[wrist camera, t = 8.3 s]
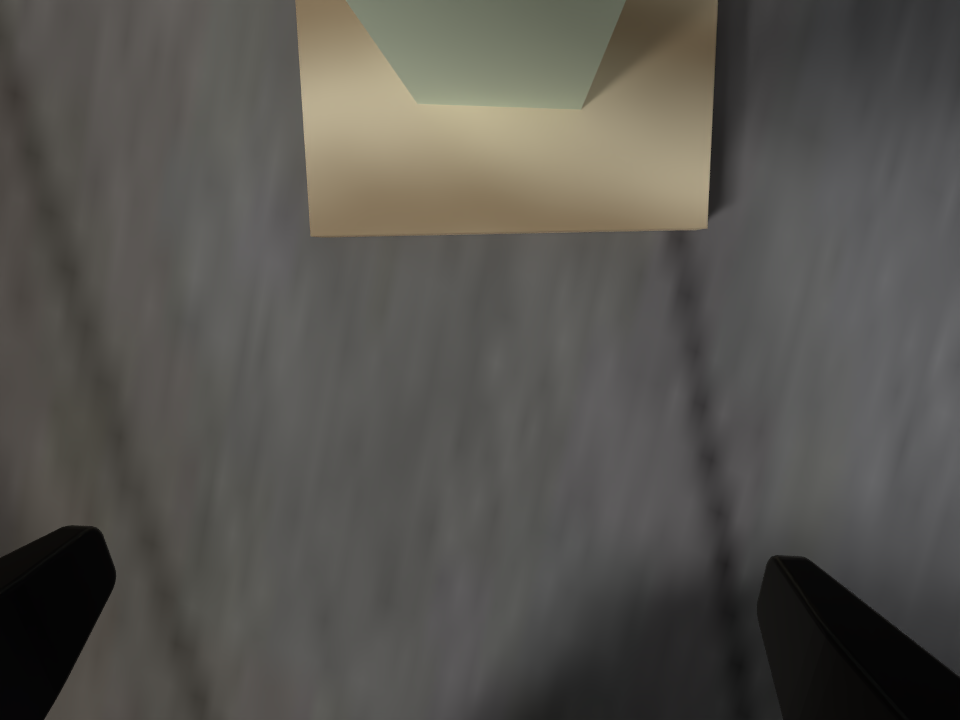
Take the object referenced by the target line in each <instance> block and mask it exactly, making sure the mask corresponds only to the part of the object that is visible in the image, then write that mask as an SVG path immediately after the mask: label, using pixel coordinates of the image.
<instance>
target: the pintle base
mask: <svg viewBox="0 0 960 720" xmlns="http://www.w3.org/2000/svg"><path fill="white" fill-rule="evenodd" d="M717 9H718V0H626V2H625V4H624V7H623V9H622V11H621V14H620V16H619V19H618V21H617V24H616V26H615V28H614V31H613V33H612V36H611V38H610V41H609V43H608V45H607V48H606V50H605V53H604V55H603V58H602V60H601V62H600V65H599V67H598V70H597V72H596V75H595V77H594V80H593V82H592V84H591V87H590V89H589V92H588V94H587V97H586V99H585V101H584V104H583V106H582V109H581V110H579V109H550V108H522V107H493V106H465V105H436V104H417V102H416V101H415V100H414V98H413V97H412V95H411V94H410V92H409V91H408V90H407V88H406V87H405V85H404V84H403V82H402V81H401V79H400V78H399V77H398V75H397V74H396V72H395V71H394V69H393V68H392V66H391V65H390V64H389V62H388V61H387V59H386V58H385V56H384V55H383V54H382V52H381V51H380V49H379V48H378V46H377V45H376V43H375V42H374V41H373V39H372V38H371V36H370V35H369V33H368V32H367V30H366V29H365V28H364V26H363V25H362V23H361V22H360V20H359V19H358V18H357V16H356V15H355V13H354V12H353V10H352V9H351V7H350V6H349V5H348V3H347V2H346V0H296V15H297V31H298V46H299V62H300V77H301V93H302V108H303V124H304V139H305V155H306V170H307V186H308V201H309V217H310V232H311V236H313V237H366V236H416V235H467V234H517V233H567V232H617V231H668V230H699V229H706V228H707V222H708V201H709V180H710V158H711V137H712V116H713V94H714V73H715V52H716V31H717Z"/></svg>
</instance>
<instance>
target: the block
mask: <svg viewBox="0 0 960 720" xmlns="http://www.w3.org/2000/svg"><path fill="white" fill-rule="evenodd" d="M346 2H347V3H348V5H349V6H350V7H351V9H352V10H353V12H354V13H355V15H356V16H357V18H358V19H359V20H360V22H361V23H362V25H363V26H364V28H365V29H366V30H367V32H368V33H369V35H370V36H371V38H372V39H373V41H374V42H375V43H376V45H377V46H378V48H379V49H380V51H381V52H382V54H383V55H384V56H385V58H386V59H387V61H388V62H389V64H390V65H391V66H392V68H393V69H394V71H395V72H396V74H397V75H398V77H399V78H400V79H401V81H402V82H403V84H404V85H405V87H406V88H407V90H408V91H409V92H410V94H411V95H412V97H413V98H414V100H415V101H416V102H417V104H436V105H465V106H493V107H522V108H550V109H579V110H581V109H582V106H583V104H584V101H585V99H586V97H587V94H588V92H589V89H590V87H591V84H592V82H593V80H594V77H595V75H596V72H597V70H598V67H599V65H600V62H601V60H602V58H603V55H604V53H605V50H606V48H607V45H608V43H609V41H610V38H611V36H612V33H613V31H614V28H615V26H616V24H617V21H618V19H619V16H620V14H621V11H622V9H623V7H624V4H625V2H626V0H346Z"/></svg>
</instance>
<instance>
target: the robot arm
mask: <svg viewBox="0 0 960 720" xmlns="http://www.w3.org/2000/svg"><path fill="white" fill-rule="evenodd" d="M115 581H116V570H115V566H114V564H113V561H112V558H111V555H110V553H109V550H108V547H107V544H106V542H105V539H104V536H103V534H102V532H101V531H100V530H99V529H98V528H96V527H93V526H74V525H71V526H65V527H62V528H59V529H57V530H55V531H53V532H51V533H49V534H47V535H45V536H43V537H41V538H39V539H37V540H35V541H33V542H31V543H29V544H27V545H25V546H23V547H21V548H19V549H17V550H15V551H13V552H11V553H9V554H7V555H5V556H3V557H1V558H0V720H44V719H45V717H46V716H47V714H48V712H49V711H50V709H51V707H52V705H53V704H54V702H55V700H56V699H57V697H58V695H59V693H60V692H61V690H62V688H63V686H64V684H65V682H66V680H67V679H68V677H69V675H70V673H71V671H72V669H73V667H74V665H75V663H76V661H77V659H78V657H79V655H80V653H81V651H82V649H83V647H84V645H85V643H86V641H87V639H88V637H89V635H90V633H91V632H92V630H93V628H94V626H95V624H96V622H97V620H98V618H99V616H100V614H101V612H102V610H103V608H104V606H105V604H106V602H107V600H108V598H109V596H110V594H111V592H112V590H113V588H114V585H115ZM757 615H758V621H759V626H760V630H761V633H762V637H763V641H764V645H765V649H766V653H767V657H768V661H769V665H770V669H771V673H772V677H773V681H774V684H775V688H776V692H777V696H778V700H779V704H780V708H781V712H782V716H783V720H960V677H959V676H958V675H956V674H955V673H954V672H953V671H951V670H950V669H949V668H948V667H946V666H945V665H944V664H942V663H941V662H940V661H939V660H937V659H936V658H935V657H933V656H932V655H931V654H930V653H928V652H927V651H926V650H924V649H923V648H922V647H921V646H919V645H918V644H917V643H916V642H914V641H913V640H912V639H910V638H909V637H908V636H907V635H905V634H904V633H903V632H901V631H900V630H899V629H898V628H896V627H895V626H894V625H892V624H891V623H890V622H889V621H887V620H886V619H885V618H884V617H882V616H881V615H880V614H878V613H877V612H876V611H875V610H873V609H872V608H871V607H869V606H868V605H867V604H866V603H864V602H863V601H862V600H861V599H859V598H858V597H857V596H855V595H854V594H853V593H852V592H850V591H849V590H848V589H846V588H845V587H844V586H843V585H841V584H840V583H839V582H837V581H836V580H835V579H834V578H832V577H831V576H830V575H829V574H827V573H826V572H825V571H823V570H822V569H821V568H820V567H818V566H817V565H816V564H814V563H813V562H812V561H810V560H809V559H807V558H805V557H801V556H782V555H776V556H772V557H771V558H770V559H769V560H768V563H767V565H766V569H765V573H764V577H763V582H762V586H761V590H760V594H759V598H758V603H757Z"/></svg>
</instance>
